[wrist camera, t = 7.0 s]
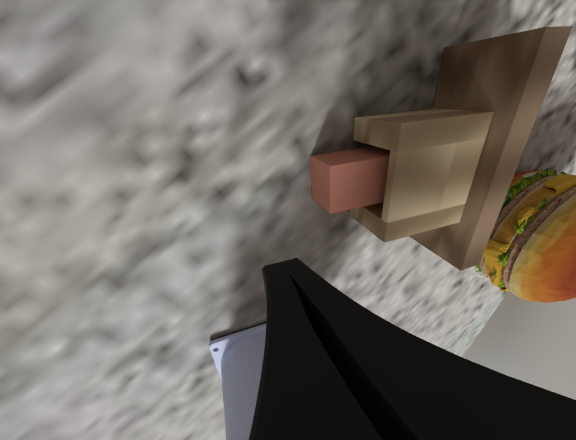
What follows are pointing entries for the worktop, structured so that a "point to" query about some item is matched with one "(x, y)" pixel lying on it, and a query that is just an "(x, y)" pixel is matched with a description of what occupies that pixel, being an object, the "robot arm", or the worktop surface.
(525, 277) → the burger
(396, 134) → the block
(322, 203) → the brick
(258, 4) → the worktop surface
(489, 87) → the wall
